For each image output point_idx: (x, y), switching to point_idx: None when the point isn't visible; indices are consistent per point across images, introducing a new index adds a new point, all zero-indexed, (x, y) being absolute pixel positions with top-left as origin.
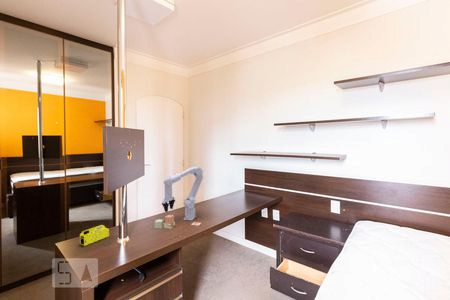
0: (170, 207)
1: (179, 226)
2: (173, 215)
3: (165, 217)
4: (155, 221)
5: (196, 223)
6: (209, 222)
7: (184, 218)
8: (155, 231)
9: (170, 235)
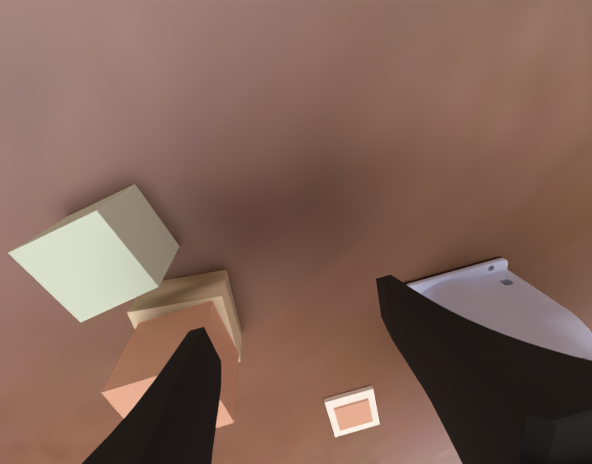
0: (388, 303)
1: (254, 360)
2: (223, 423)
3: (110, 393)
4: (23, 254)
5: (353, 418)
6: (411, 441)
7: (417, 289)
8: (27, 287)
9: (90, 419)
